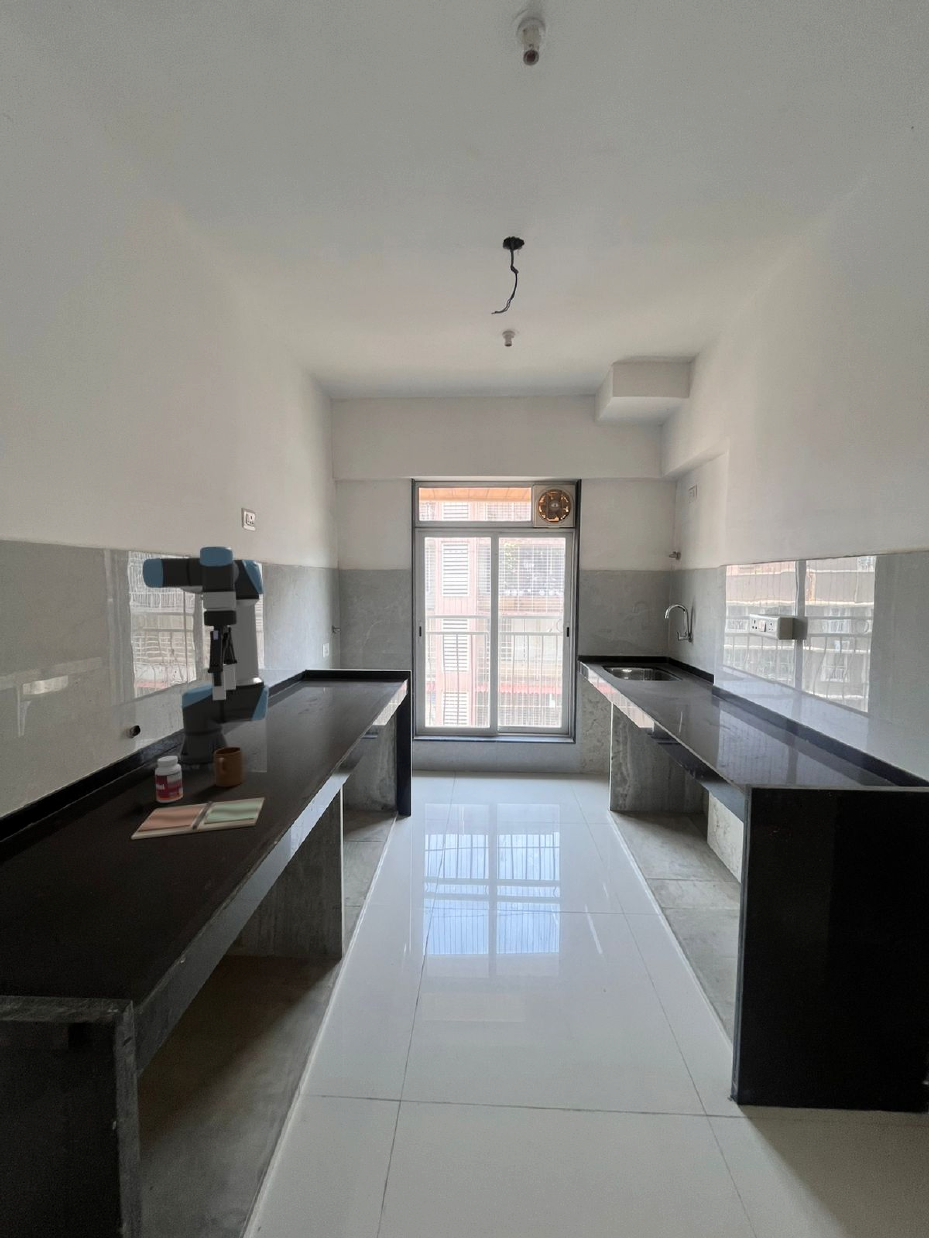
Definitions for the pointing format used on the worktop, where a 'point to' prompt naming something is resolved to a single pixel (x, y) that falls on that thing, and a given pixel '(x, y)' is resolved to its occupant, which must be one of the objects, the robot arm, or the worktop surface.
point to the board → (200, 818)
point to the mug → (228, 766)
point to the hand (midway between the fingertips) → (224, 694)
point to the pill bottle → (168, 779)
